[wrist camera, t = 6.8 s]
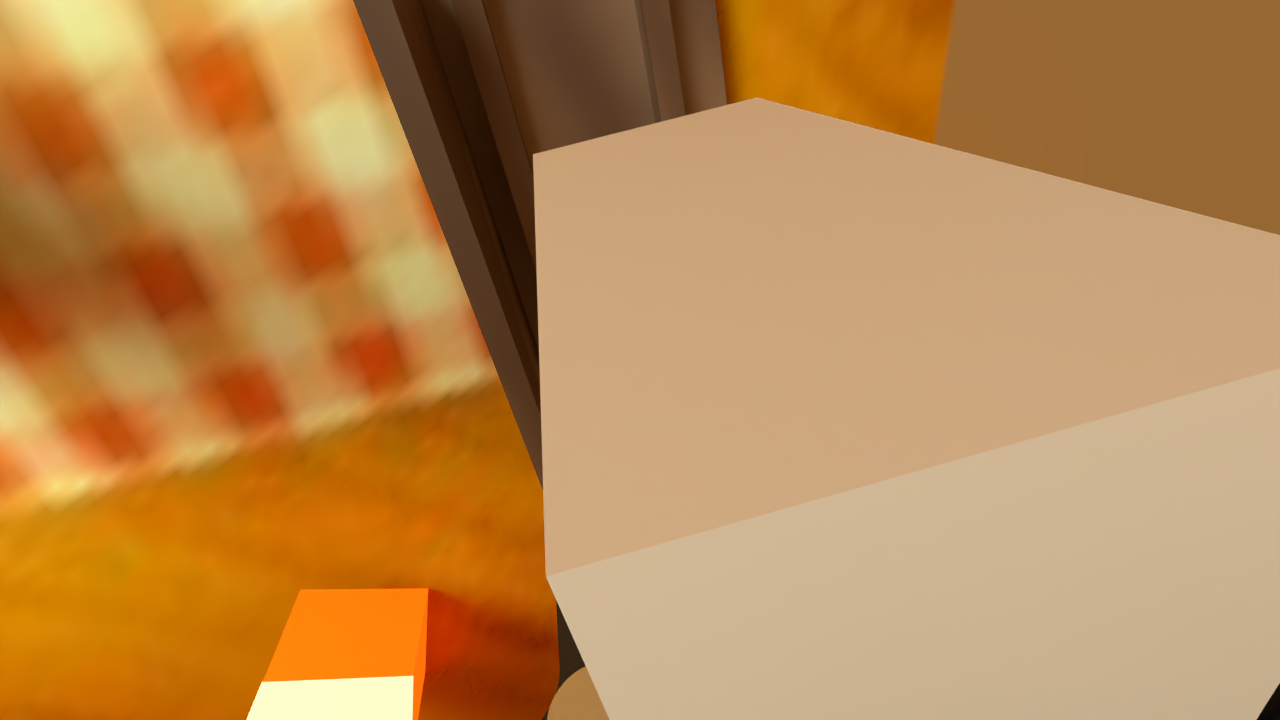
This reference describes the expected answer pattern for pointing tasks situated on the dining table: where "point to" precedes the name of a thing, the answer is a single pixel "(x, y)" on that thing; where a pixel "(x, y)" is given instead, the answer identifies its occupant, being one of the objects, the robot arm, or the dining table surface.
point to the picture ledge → (528, 127)
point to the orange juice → (348, 657)
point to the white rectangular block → (901, 431)
